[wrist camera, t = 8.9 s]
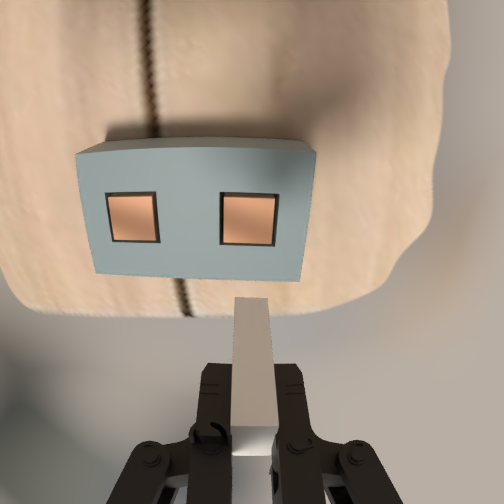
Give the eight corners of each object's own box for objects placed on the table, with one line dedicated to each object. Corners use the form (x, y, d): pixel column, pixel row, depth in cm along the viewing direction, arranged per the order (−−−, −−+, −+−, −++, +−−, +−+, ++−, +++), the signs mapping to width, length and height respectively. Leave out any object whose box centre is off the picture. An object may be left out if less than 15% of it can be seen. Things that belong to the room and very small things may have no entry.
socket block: (103, 141, 27) (75, 154, 21) (302, 140, 27) (316, 152, 22) (116, 245, 33) (96, 273, 27) (291, 250, 33) (299, 281, 28)
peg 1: (131, 177, 29) (108, 197, 23) (168, 176, 29) (151, 196, 23) (134, 213, 31) (114, 239, 25) (170, 213, 31) (155, 240, 25)
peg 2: (228, 177, 29) (223, 197, 24) (269, 178, 29) (274, 198, 24) (227, 214, 31) (223, 242, 26) (266, 216, 31) (271, 243, 26)
